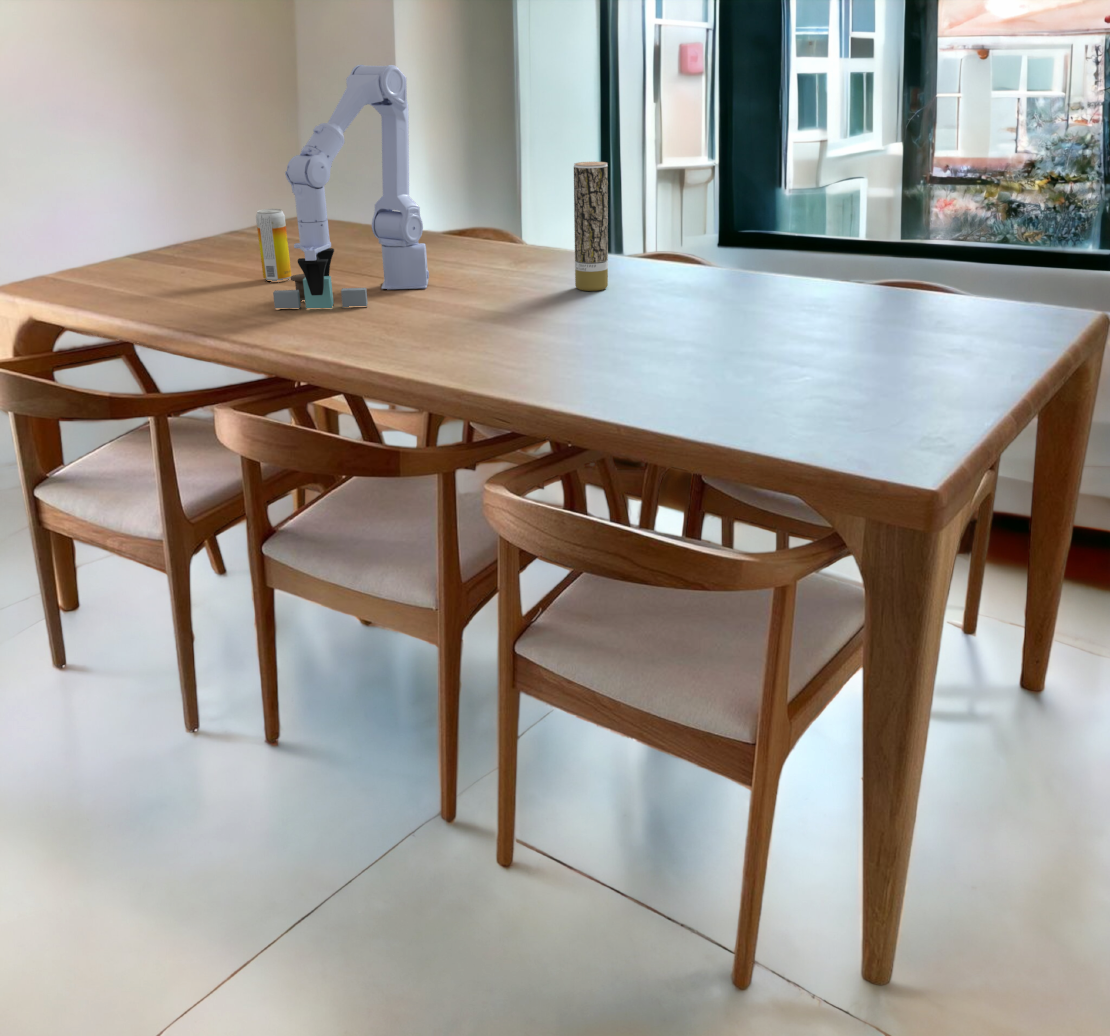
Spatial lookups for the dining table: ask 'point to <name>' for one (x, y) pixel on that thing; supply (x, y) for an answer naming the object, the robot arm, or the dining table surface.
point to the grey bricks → (293, 301)
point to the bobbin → (299, 284)
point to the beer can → (273, 244)
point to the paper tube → (591, 225)
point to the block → (319, 300)
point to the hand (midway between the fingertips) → (319, 290)
